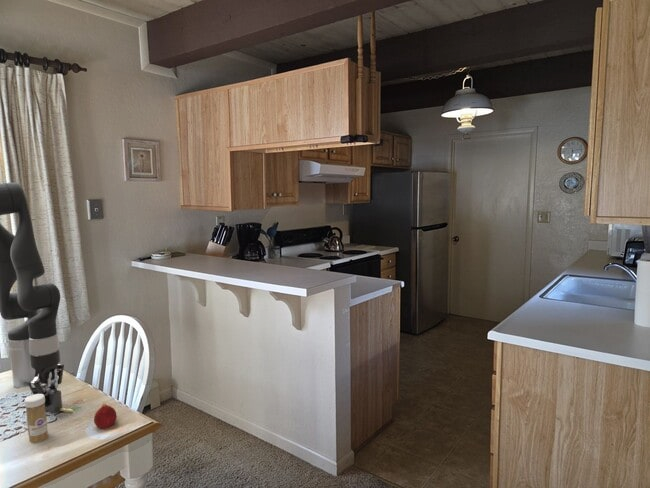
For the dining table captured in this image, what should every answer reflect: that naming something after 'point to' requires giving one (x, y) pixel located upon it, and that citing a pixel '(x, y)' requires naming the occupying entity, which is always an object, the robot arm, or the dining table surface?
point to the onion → (105, 417)
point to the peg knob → (55, 402)
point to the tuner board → (70, 408)
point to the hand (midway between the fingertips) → (49, 403)
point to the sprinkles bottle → (36, 418)
